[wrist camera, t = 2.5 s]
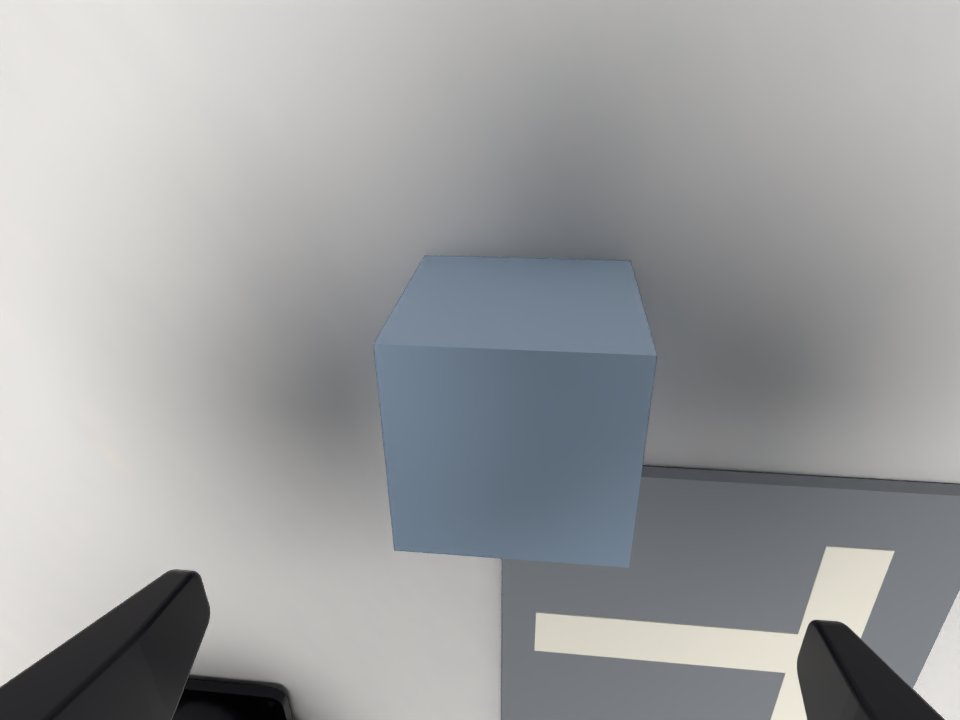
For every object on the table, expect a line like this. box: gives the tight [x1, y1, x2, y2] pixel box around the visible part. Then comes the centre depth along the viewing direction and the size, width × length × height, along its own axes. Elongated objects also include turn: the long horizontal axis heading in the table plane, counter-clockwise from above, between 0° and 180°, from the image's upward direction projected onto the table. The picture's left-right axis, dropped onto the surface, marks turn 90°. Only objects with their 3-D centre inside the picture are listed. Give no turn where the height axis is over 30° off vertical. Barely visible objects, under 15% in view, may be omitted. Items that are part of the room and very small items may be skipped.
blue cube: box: [374, 255, 657, 568], centre depth 15 cm, size 5×5×5 cm
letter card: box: [501, 466, 960, 720], centre depth 21 cm, size 13×13×1 cm
